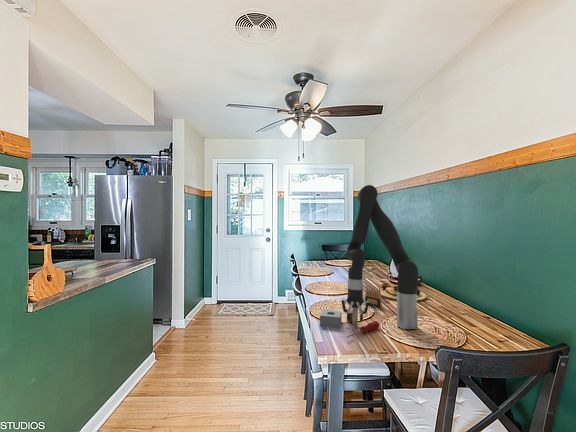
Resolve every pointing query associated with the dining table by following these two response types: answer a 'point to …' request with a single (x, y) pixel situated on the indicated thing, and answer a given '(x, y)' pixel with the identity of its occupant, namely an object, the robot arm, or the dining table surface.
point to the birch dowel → (354, 316)
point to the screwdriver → (367, 328)
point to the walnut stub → (350, 317)
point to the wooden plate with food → (392, 293)
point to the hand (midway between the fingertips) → (354, 320)
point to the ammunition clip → (373, 296)
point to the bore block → (330, 318)
